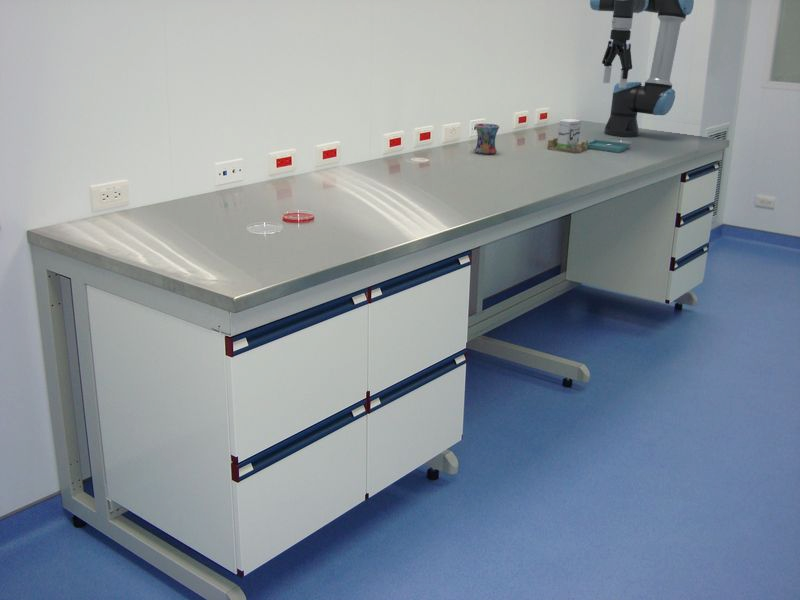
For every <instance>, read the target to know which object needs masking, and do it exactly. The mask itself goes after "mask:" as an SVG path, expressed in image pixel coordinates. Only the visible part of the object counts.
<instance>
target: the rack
mask: <svg viewBox="0 0 800 600" xmlns="http://www.w3.org/2000/svg"><path fill="white" fill-rule="evenodd" d="M588 142H589V141H588V140H584V141H581V142H579V143H578V144H576V149H575V150H569V149H562V148H557V143H558V136H557V137H554V138H552V139H549V140H547V150H549V151H557V152H564V153H571V154H579V153H582V152H583V151H586V150H588V149H587V145H588Z"/></svg>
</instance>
